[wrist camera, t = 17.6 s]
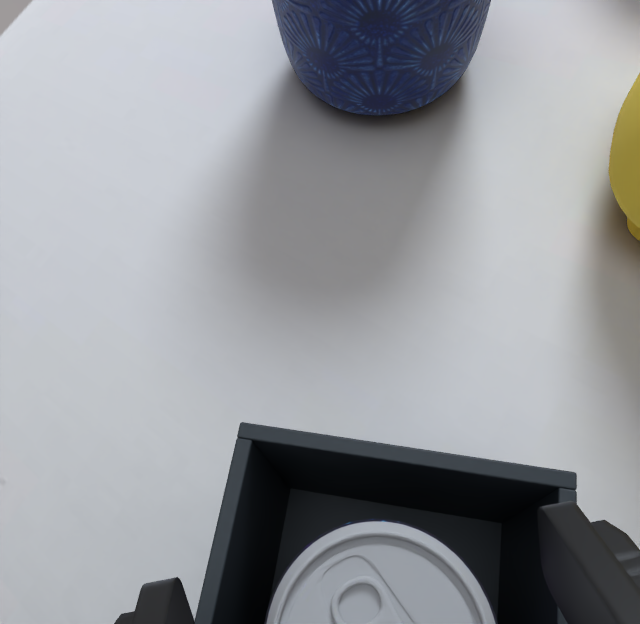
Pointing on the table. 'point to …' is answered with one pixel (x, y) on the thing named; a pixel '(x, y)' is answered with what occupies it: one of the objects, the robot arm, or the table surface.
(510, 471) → the trash bin
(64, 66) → the table surface
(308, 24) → the planter
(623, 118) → the teapot
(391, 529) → the beverage can
